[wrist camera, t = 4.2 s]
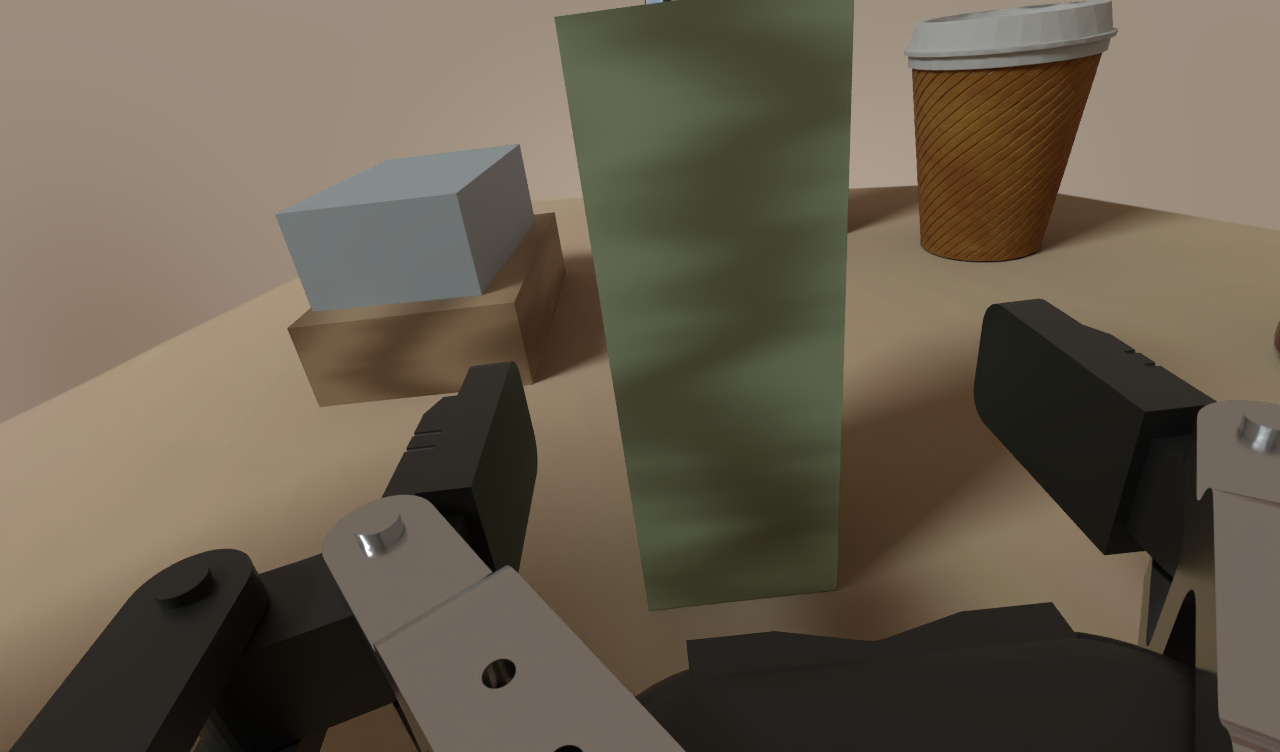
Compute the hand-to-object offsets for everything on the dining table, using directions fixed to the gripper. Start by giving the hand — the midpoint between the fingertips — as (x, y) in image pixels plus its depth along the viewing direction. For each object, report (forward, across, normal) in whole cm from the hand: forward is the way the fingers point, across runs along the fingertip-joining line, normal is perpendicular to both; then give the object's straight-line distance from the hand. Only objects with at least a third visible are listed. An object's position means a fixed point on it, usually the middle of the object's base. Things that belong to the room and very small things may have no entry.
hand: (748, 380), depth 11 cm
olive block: (+5, 0, +8) cm, 10 cm away
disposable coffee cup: (+27, -18, +8) cm, 33 cm away
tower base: (+24, +12, +9) cm, 28 cm away
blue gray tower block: (+24, +12, +4) cm, 27 cm away
